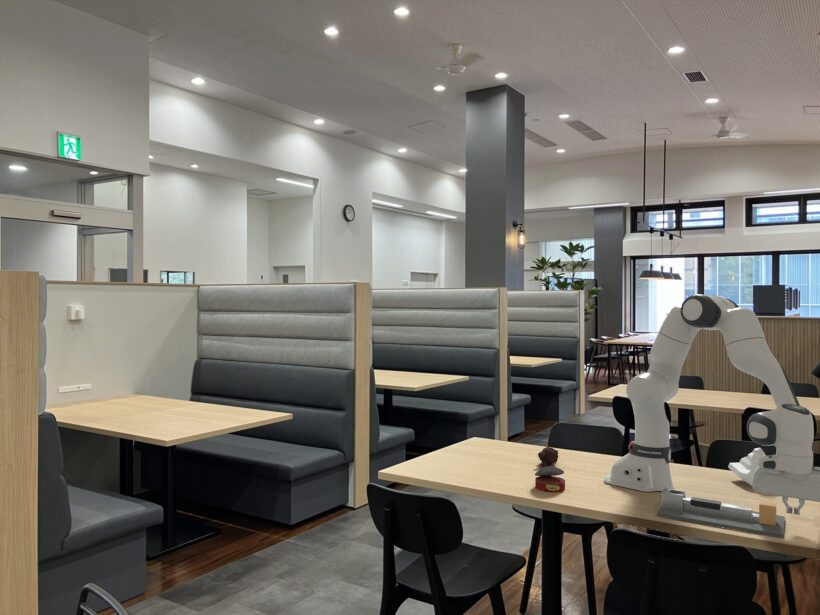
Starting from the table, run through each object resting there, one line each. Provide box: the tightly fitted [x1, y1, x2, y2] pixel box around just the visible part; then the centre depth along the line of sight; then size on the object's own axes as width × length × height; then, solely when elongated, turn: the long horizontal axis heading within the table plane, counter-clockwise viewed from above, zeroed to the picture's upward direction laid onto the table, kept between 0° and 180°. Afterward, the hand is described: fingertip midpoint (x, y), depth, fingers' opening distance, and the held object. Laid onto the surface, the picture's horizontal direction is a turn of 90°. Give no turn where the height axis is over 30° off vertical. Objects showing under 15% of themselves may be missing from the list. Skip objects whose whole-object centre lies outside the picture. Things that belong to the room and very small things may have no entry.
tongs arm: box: [683, 496, 753, 515], centre depth 189 cm, size 21×3×2 cm, turn 59°
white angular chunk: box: [727, 447, 767, 487], centre depth 223 cm, size 12×15×14 cm
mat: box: [656, 506, 786, 539], centre depth 188 cm, size 32×18×1 cm, turn 59°
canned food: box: [534, 465, 566, 493], centre depth 216 cm, size 11×10×10 cm
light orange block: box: [758, 500, 777, 526], centre depth 181 cm, size 4×5×5 cm
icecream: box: [537, 446, 559, 468], centre depth 248 cm, size 7×7×15 cm
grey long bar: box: [660, 488, 776, 525], centre depth 188 cm, size 30×6×4 cm, turn 59°
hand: (793, 513), depth 178 cm, fingers closed
